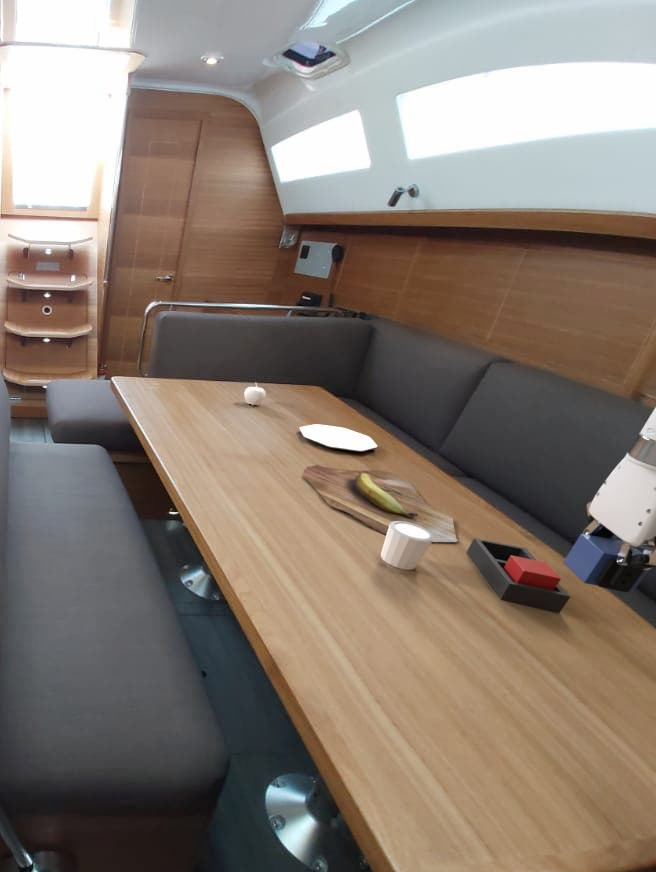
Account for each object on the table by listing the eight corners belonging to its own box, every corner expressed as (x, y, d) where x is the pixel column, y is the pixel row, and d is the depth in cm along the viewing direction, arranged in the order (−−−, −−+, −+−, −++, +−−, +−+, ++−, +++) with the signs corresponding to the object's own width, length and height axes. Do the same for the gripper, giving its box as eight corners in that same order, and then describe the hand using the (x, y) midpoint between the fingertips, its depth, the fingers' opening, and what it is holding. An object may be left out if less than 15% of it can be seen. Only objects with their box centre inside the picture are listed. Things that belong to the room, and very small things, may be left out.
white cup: (425, 575, 92) (440, 544, 89) (383, 566, 94) (396, 536, 91) (412, 554, 98) (426, 524, 95) (372, 547, 100) (384, 517, 97)
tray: (516, 562, 97) (525, 547, 95) (559, 613, 84) (570, 596, 82) (466, 552, 100) (474, 537, 98) (500, 599, 87) (509, 583, 85)
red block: (532, 584, 90) (545, 562, 87) (546, 601, 85) (561, 578, 83) (497, 577, 91) (510, 554, 89) (510, 593, 87) (524, 570, 85)
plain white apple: (244, 399, 186) (249, 379, 183) (264, 403, 183) (270, 382, 179) (240, 404, 181) (245, 383, 178) (260, 408, 178) (266, 387, 174)
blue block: (607, 571, 70) (627, 541, 68) (632, 592, 66) (654, 562, 64) (562, 562, 72) (580, 533, 69) (583, 583, 67) (603, 553, 65)
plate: (382, 458, 141) (384, 454, 140) (306, 447, 146) (307, 443, 145) (362, 434, 158) (364, 430, 157) (294, 425, 163) (296, 421, 162)
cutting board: (289, 464, 135) (293, 451, 133) (395, 472, 132) (401, 459, 131) (352, 535, 104) (359, 519, 102) (493, 548, 101) (502, 533, 99)
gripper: (786, 493, 52) (681, 624, 60) (665, 437, 67) (593, 549, 75) (690, 479, 55) (601, 607, 63) (593, 428, 69) (530, 537, 77)
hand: (597, 574), depth 69 cm, fingers closed on blue block, 5 cm apart
